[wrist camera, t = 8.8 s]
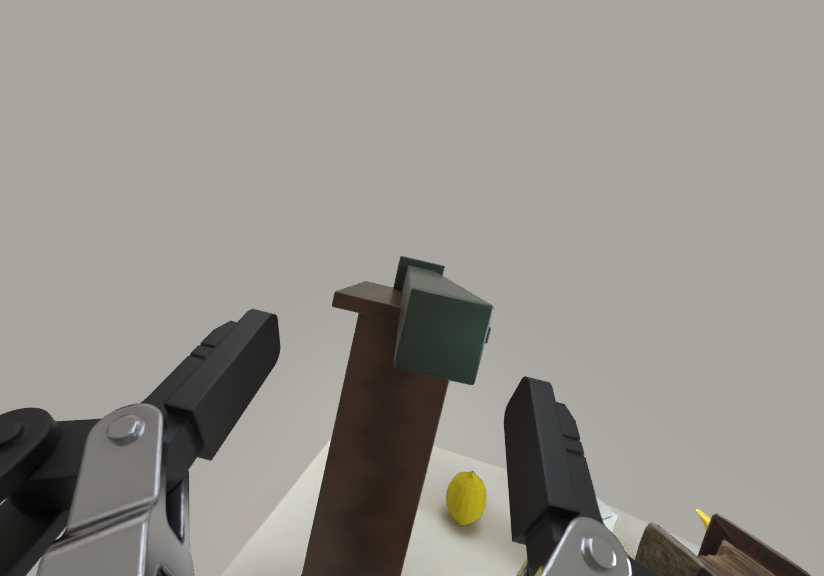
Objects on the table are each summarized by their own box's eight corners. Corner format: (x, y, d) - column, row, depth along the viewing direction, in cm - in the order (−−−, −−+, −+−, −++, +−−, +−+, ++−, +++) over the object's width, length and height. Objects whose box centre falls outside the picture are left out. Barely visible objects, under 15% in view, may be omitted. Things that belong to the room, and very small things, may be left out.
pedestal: (244, 723, 24) (334, 291, 21) (299, 586, 34) (365, 281, 31) (379, 762, 23) (491, 328, 20) (394, 612, 33) (471, 305, 30)
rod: (364, 363, 9) (388, 259, 9) (394, 285, 33) (401, 255, 33) (501, 392, 9) (528, 291, 9) (433, 293, 33) (440, 264, 33)
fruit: (472, 510, 50) (485, 461, 49) (484, 542, 45) (498, 487, 44) (437, 504, 49) (450, 455, 49) (444, 536, 44) (458, 481, 43)
